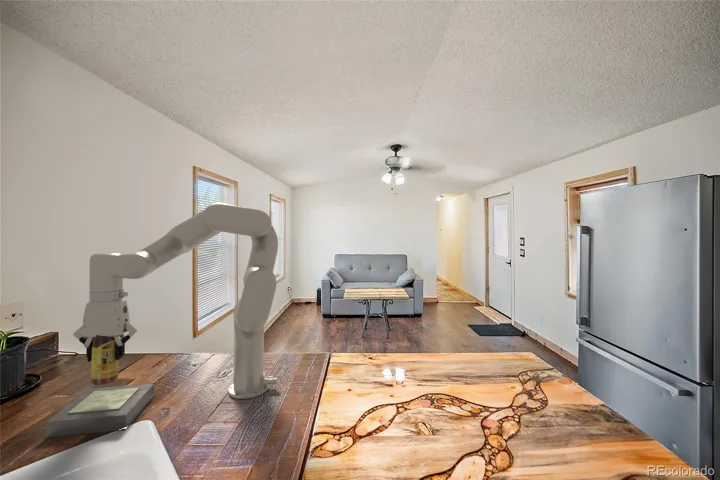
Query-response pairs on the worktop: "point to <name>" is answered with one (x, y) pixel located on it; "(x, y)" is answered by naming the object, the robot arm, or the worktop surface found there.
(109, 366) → the sauce bottle
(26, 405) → the worktop surface
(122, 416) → the stand
